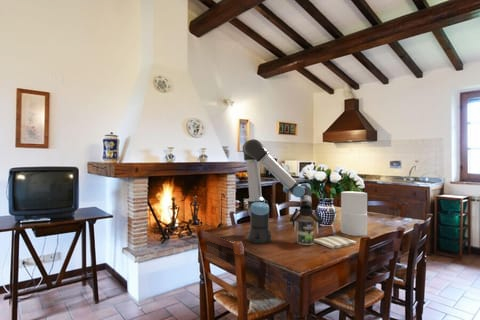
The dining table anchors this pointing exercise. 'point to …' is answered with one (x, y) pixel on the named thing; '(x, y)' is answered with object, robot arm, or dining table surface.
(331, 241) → the birch board
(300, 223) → the coffee can
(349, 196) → the cylinder
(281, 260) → the dining table surface
